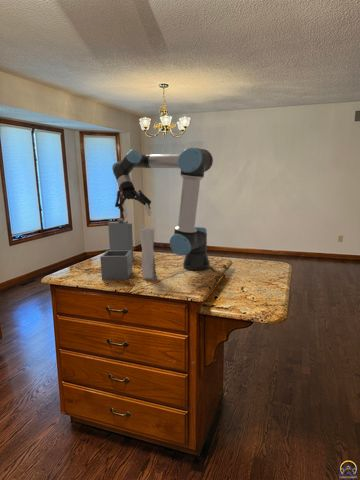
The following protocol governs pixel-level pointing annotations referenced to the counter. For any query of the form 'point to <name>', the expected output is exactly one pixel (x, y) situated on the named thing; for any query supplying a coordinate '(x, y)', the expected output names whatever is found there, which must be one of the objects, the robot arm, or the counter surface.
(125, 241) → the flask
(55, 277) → the counter surface
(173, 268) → the counter surface
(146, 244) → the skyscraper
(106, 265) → the grey open box
